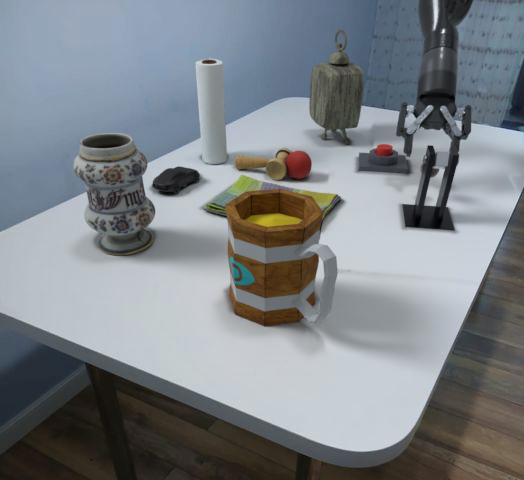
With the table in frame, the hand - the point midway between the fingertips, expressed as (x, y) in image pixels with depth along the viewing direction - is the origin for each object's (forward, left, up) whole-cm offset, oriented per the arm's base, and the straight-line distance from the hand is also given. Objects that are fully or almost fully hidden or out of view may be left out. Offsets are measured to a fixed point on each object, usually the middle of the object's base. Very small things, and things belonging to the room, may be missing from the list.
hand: (430, 156), depth 100 cm
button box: (+8, -14, -9) cm, 19 cm away
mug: (+24, +45, -9) cm, 51 cm away
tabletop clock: (+21, -34, -9) cm, 41 cm away
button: (+8, -14, -5) cm, 17 cm away
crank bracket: (0, +12, -9) cm, 14 cm away
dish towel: (+30, +11, -9) cm, 33 cm away
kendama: (+33, -7, -9) cm, 35 cm away
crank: (0, +8, -1) cm, 8 cm away
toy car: (+53, +3, -9) cm, 54 cm away
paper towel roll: (+48, -14, -9) cm, 51 cm away
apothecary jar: (+55, +29, -9) cm, 63 cm away
